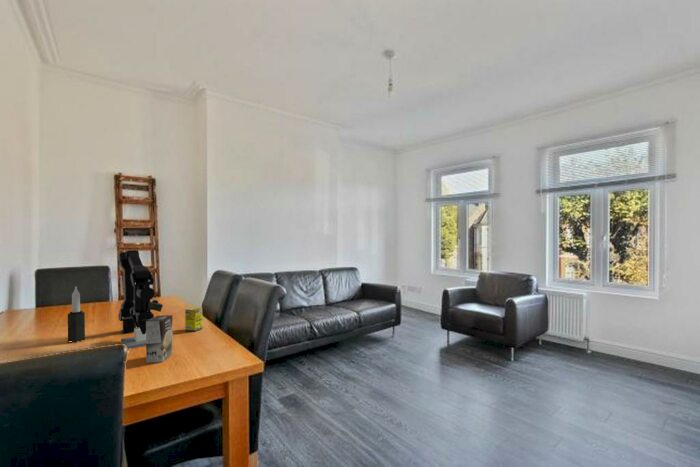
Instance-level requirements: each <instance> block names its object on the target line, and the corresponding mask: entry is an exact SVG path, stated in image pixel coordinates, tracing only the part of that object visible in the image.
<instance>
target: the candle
mask: <svg viewBox="0 0 700 467" xmlns="http://www.w3.org/2000/svg"><path fill="white" fill-rule="evenodd" d="M85 319H86V318H85V312H84V311H83V310H81V293H80V292H79V290H78V286H74V290H73V292H72V293H71V311H70V312H69V313H67V342H68V341H72V342H77V341H80V342H82V341H81V340H84V341H85V340H86V330H85V328H86V324H85V321H86V320H85ZM72 342H71V343H72ZM77 343H78V342H77Z"/></svg>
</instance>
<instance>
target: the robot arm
mask: <svg viewBox="0 0 700 467" xmlns="http://www.w3.org/2000/svg"><path fill="white" fill-rule="evenodd" d="M117 261H118V264H119V267H120V268H121V269H122V270H123V272H122V273H123V292H124V294H123V295H124V296H123V297H124V300H123V301H122V303H121V304H120V309H119V310H118V318H117V319H118V321H119V322H122V329H120V332H121V333H122V334H129V333H134V328H138V327H139V328H140V330H141V332H142V334H145V333H146V321H147V320H149V319H151V318H153V317H155V313H153V312H152V311H156V312H161V311H162V309H163V307H164V304H162V303H159V301H158V300H156V299H154V297H155V292H156V291H155V290H154V289H153V288H152V287H150V286H153V285H154V282H155V279H154V276H153V274H152V271H150V269H149V268H148V267H147V266H144V264H143V262H142V260H141V258H140V251H139V250H137V249H127V250H126V251H123V252H119V253H118V255H117ZM152 299H153V300H152ZM151 300H152V301H151Z"/></svg>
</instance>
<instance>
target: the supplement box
mask: <svg viewBox="0 0 700 467" xmlns="http://www.w3.org/2000/svg"><path fill="white" fill-rule="evenodd" d="M184 311H185V312H184V313H185V314H184V315H185V318H184V322H185V323H184V324H185V326H184V328H185V329H184V330H185V332H195V333H196V332H198V331H200V330H203V307H199V306H198V307H197V306H196V307H195V306H192V307H190V308H187V309H186V308H185V310H184Z"/></svg>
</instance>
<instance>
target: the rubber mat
mask: <svg viewBox="0 0 700 467" xmlns="http://www.w3.org/2000/svg"><path fill="white" fill-rule="evenodd" d="M120 342H122V343H121V344H122V345H123V344H125V345H126V346H127V348H128V349H127V350H130V349H129V348H131V349H137V348H141V347H146V340H143V341H138V342H136V341H135V340H134V336H131V337H129V336H128V337H124V338H120Z"/></svg>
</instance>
